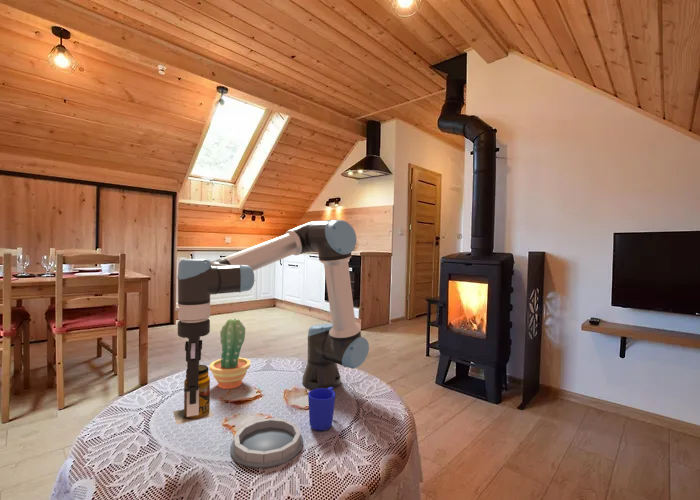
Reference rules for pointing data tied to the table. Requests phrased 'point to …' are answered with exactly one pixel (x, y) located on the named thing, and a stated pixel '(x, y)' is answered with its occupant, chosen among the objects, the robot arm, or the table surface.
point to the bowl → (266, 443)
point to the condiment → (203, 398)
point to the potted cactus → (230, 356)
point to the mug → (321, 408)
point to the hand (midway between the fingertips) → (193, 408)
